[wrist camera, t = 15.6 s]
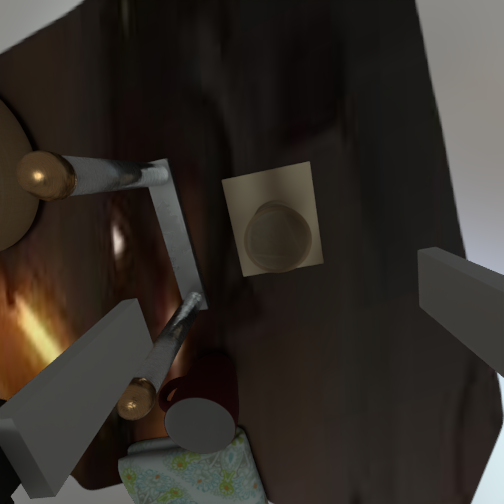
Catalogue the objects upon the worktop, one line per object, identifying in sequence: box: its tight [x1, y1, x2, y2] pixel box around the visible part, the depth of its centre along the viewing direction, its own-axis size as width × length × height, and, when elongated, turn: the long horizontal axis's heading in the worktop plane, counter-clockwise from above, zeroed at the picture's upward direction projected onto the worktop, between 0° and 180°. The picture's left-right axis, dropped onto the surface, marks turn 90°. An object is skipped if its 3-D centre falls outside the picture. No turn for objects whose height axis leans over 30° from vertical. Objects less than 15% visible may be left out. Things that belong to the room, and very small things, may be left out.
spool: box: [244, 200, 312, 273], centre depth 27 cm, size 6×6×9 cm
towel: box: [118, 427, 268, 504], centre depth 43 cm, size 18×21×5 cm
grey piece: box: [16, 150, 210, 420], centre depth 25 cm, size 3×19×18 cm, turn 12°
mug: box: [158, 352, 239, 454], centre depth 34 cm, size 11×8×10 cm
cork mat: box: [222, 161, 323, 276], centre depth 32 cm, size 10×12×1 cm
